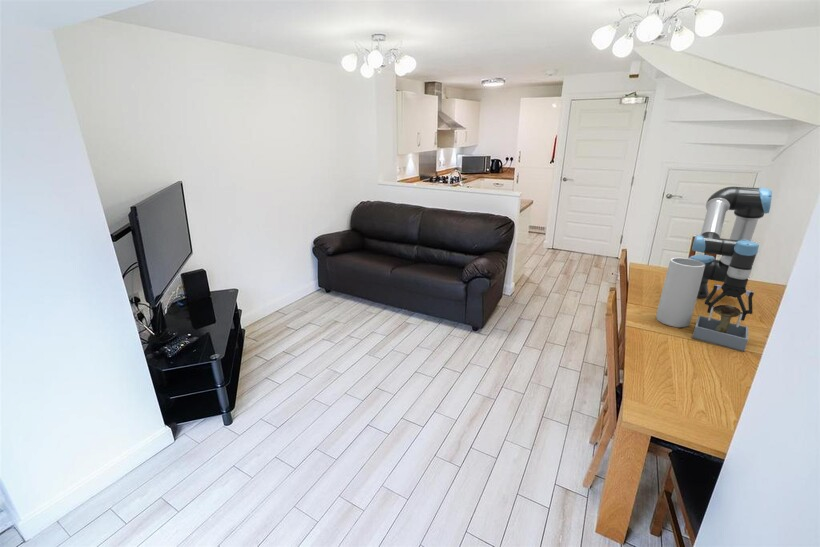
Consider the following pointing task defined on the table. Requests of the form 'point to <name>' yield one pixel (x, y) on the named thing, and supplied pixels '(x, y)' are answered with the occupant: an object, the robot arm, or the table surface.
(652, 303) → the table surface
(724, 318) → the mushroom
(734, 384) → the table surface
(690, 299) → the vase
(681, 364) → the table surface
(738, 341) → the bin
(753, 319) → the table surface
